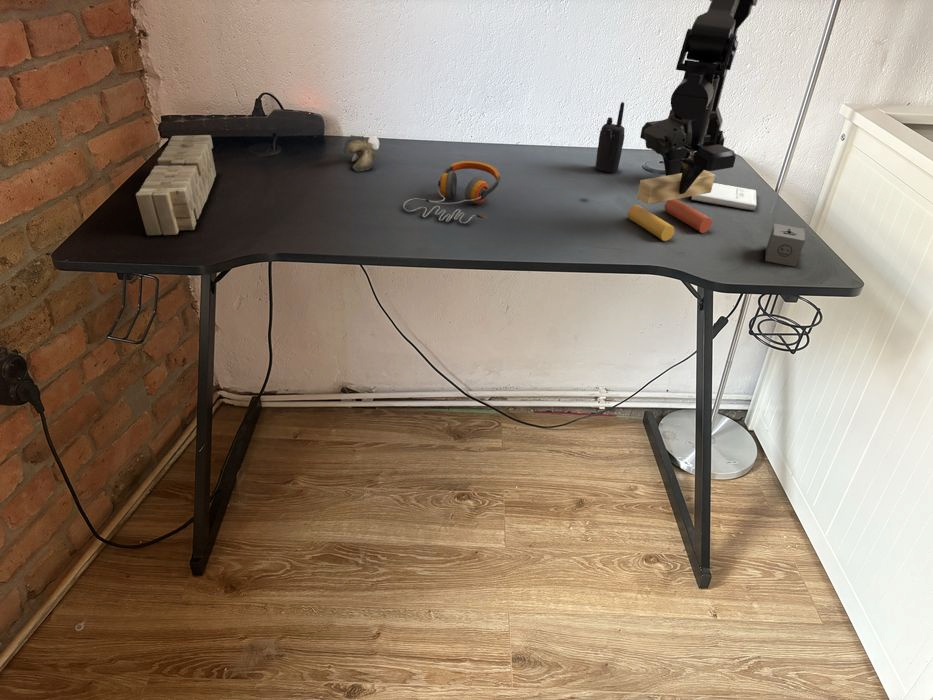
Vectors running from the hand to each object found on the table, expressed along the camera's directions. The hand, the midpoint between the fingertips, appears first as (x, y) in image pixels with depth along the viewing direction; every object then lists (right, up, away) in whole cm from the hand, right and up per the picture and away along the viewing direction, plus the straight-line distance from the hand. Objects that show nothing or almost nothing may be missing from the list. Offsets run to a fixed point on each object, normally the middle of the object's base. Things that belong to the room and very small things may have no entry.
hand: (675, 190), depth 126 cm
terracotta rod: (+4, -5, +6) cm, 8 cm away
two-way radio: (-8, +10, +26) cm, 29 cm away
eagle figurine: (-62, +11, +25) cm, 67 cm away
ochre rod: (-4, -7, +2) cm, 8 cm away
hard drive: (+15, +2, +16) cm, 22 cm away
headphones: (-40, 0, +9) cm, 41 cm away
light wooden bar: (0, -1, +1) cm, 1 cm away
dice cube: (+17, -13, -5) cm, 22 cm away
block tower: (-92, -1, +5) cm, 92 cm away
